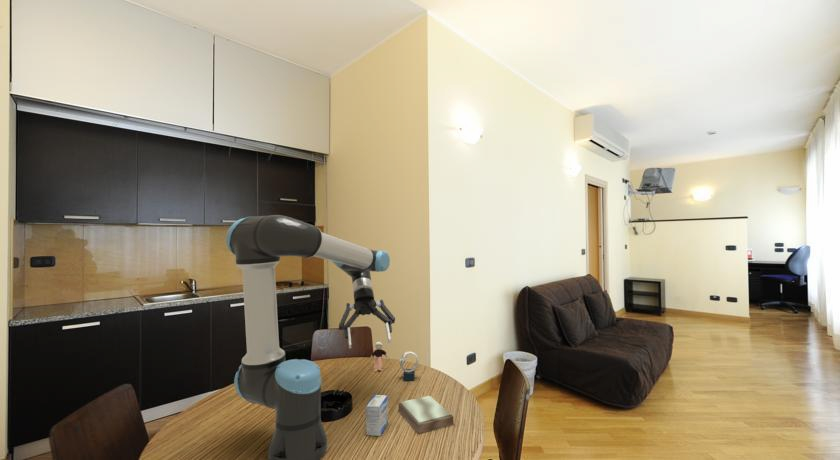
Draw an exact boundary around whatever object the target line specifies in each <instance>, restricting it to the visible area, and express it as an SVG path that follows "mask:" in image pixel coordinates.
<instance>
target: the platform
mask: <svg viewBox="0 0 840 460" xmlns="http://www.w3.org/2000/svg"><path fill="white" fill-rule="evenodd" d="M398 412H399V413H400V414H401V415H402V417H403V418H404V419H405V420H406V421H407V422H408V424H409V425H410V426H411V427H412V428H413V430H414V431H415V432H416V433H417V434H418V435H420V434H423V433H427V432H431V431H435V430H438V429H441V428H447V427H449V426H453V425H454V415H452V414H451V413H450V412H449V411H448V410H447V409H446V408H445V407H443V405H441V404H440V403H439V402H437V400H435V399H434V398H433V397H432V396H431V395H427V396H422V397H418V398H413V399H408V400H404V401H400V402H398Z"/></svg>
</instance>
